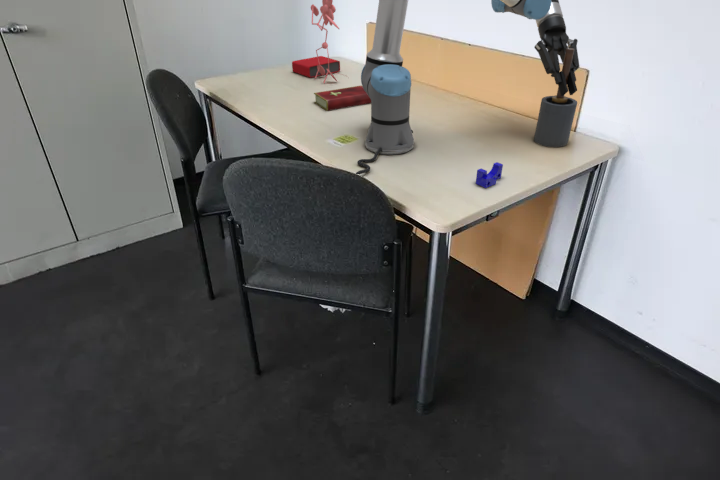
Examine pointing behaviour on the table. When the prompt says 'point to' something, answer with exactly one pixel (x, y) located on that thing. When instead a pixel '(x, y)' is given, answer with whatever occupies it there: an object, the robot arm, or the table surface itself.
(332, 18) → the figurine
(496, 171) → the cable holder
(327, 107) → the hardcover book
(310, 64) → the audio interface
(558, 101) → the brush
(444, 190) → the table surface
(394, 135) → the robot arm
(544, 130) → the grey cylindrical holder
